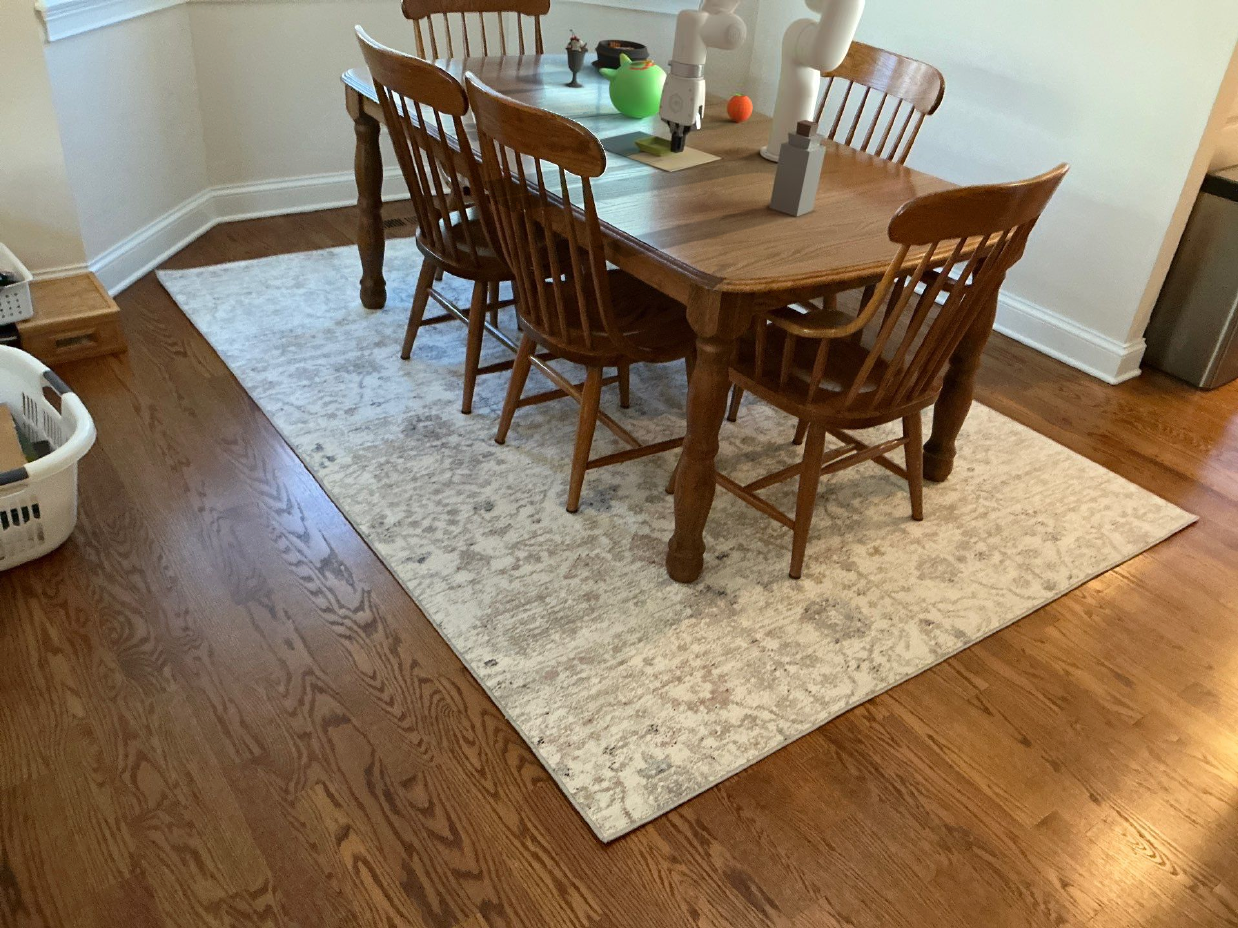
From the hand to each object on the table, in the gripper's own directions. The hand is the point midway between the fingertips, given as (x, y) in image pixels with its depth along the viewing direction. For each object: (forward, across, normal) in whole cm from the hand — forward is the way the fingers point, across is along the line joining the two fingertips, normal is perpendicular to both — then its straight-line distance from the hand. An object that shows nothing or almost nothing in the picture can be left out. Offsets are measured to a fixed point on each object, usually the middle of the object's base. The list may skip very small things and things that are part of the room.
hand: (676, 151), depth 232 cm
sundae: (+2, -62, +32) cm, 70 cm away
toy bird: (+2, -31, +22) cm, 38 cm away
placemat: (+2, -7, 0) cm, 7 cm away
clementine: (+2, -13, +44) cm, 46 cm away
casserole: (+2, -67, +59) cm, 89 cm away
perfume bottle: (+2, +37, -7) cm, 38 cm away
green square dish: (+2, -6, 0) cm, 6 cm away
